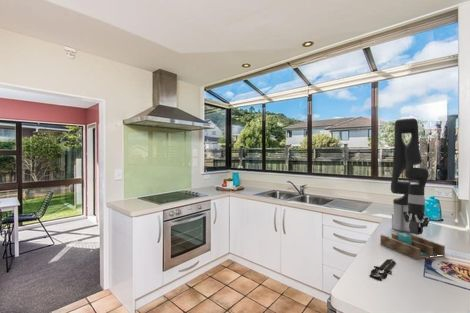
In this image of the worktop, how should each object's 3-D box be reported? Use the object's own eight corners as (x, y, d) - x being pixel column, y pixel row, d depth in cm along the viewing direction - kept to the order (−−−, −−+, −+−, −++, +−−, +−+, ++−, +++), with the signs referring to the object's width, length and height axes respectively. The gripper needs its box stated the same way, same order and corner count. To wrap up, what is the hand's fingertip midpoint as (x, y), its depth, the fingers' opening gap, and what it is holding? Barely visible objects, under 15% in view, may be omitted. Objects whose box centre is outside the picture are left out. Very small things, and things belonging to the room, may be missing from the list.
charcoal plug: (409, 232, 129) (409, 220, 129) (414, 231, 130) (414, 219, 130) (416, 234, 125) (416, 222, 125) (422, 234, 126) (422, 221, 126)
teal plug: (398, 247, 118) (398, 233, 118) (403, 246, 119) (403, 233, 119) (405, 250, 114) (405, 236, 114) (411, 249, 115) (411, 235, 115)
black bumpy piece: (388, 259, 106) (388, 256, 106) (405, 265, 101) (405, 262, 101) (364, 275, 91) (364, 272, 91) (382, 282, 86) (382, 279, 86)
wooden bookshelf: (380, 243, 125) (380, 234, 125) (404, 241, 129) (404, 232, 129) (417, 259, 105) (417, 249, 105) (444, 255, 110) (444, 245, 110)
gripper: (399, 200, 133) (398, 228, 133) (424, 205, 119) (424, 237, 120) (408, 199, 135) (408, 227, 135) (434, 204, 121) (434, 235, 122)
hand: (415, 231), depth 128 cm, fingers closed on charcoal plug, 4 cm apart
